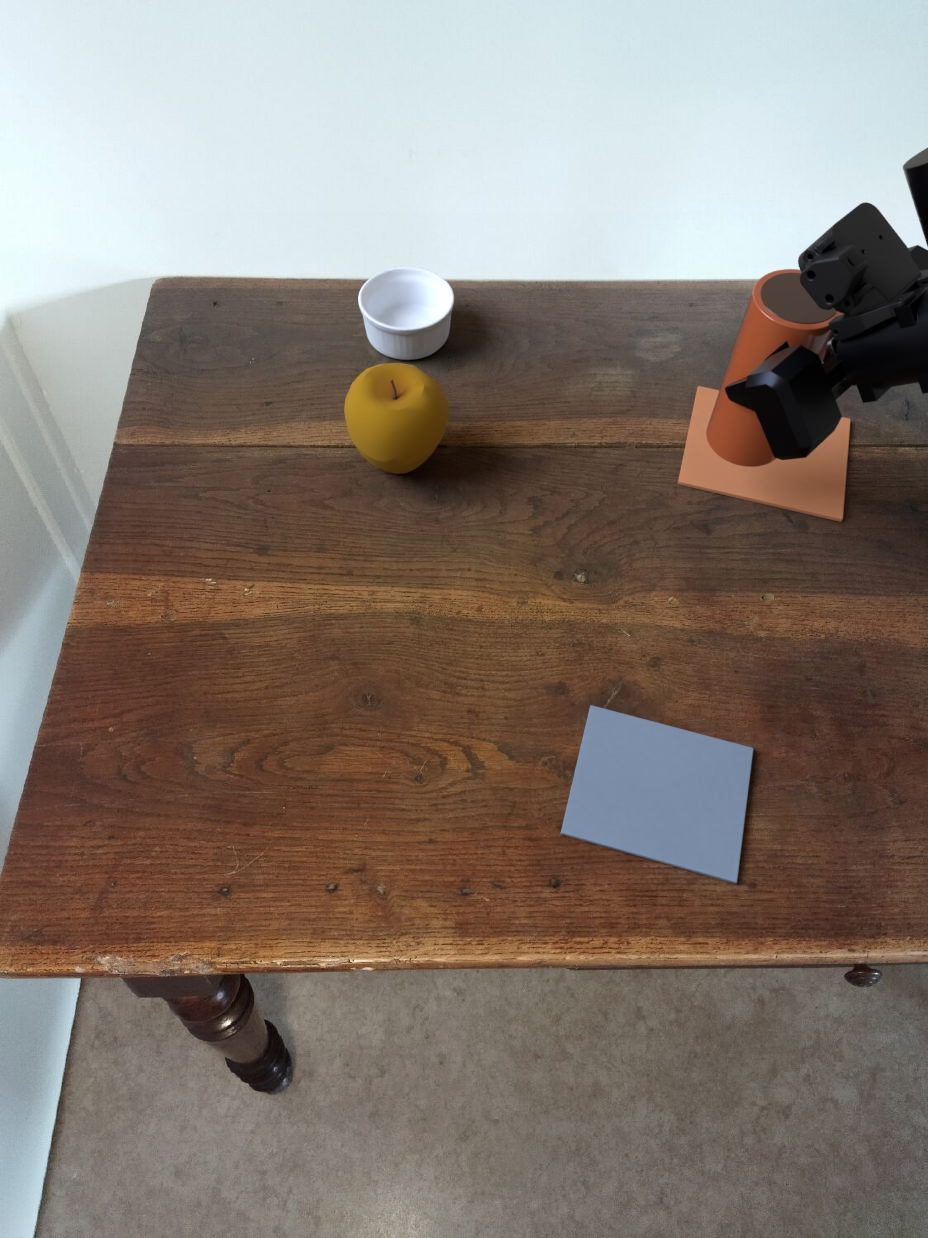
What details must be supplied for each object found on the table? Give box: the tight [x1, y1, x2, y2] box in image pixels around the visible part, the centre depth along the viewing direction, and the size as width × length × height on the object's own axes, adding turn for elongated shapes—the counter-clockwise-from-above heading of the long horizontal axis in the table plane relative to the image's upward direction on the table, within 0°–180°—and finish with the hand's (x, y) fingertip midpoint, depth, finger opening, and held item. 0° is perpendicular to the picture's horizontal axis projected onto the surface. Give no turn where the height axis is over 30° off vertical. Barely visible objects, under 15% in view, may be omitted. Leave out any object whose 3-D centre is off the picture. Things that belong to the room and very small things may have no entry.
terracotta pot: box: [706, 268, 845, 467], centre depth 65 cm, size 6×6×14 cm
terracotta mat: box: [677, 385, 851, 523], centre depth 78 cm, size 14×12×1 cm
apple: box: [343, 362, 450, 475], centre depth 74 cm, size 8×8×9 cm
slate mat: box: [560, 704, 754, 885], centre depth 62 cm, size 12×10×1 cm
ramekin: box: [357, 266, 455, 361], centre depth 84 cm, size 9×9×4 cm
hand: (753, 371), depth 66 cm, fingers closed on terracotta pot, 6 cm apart
